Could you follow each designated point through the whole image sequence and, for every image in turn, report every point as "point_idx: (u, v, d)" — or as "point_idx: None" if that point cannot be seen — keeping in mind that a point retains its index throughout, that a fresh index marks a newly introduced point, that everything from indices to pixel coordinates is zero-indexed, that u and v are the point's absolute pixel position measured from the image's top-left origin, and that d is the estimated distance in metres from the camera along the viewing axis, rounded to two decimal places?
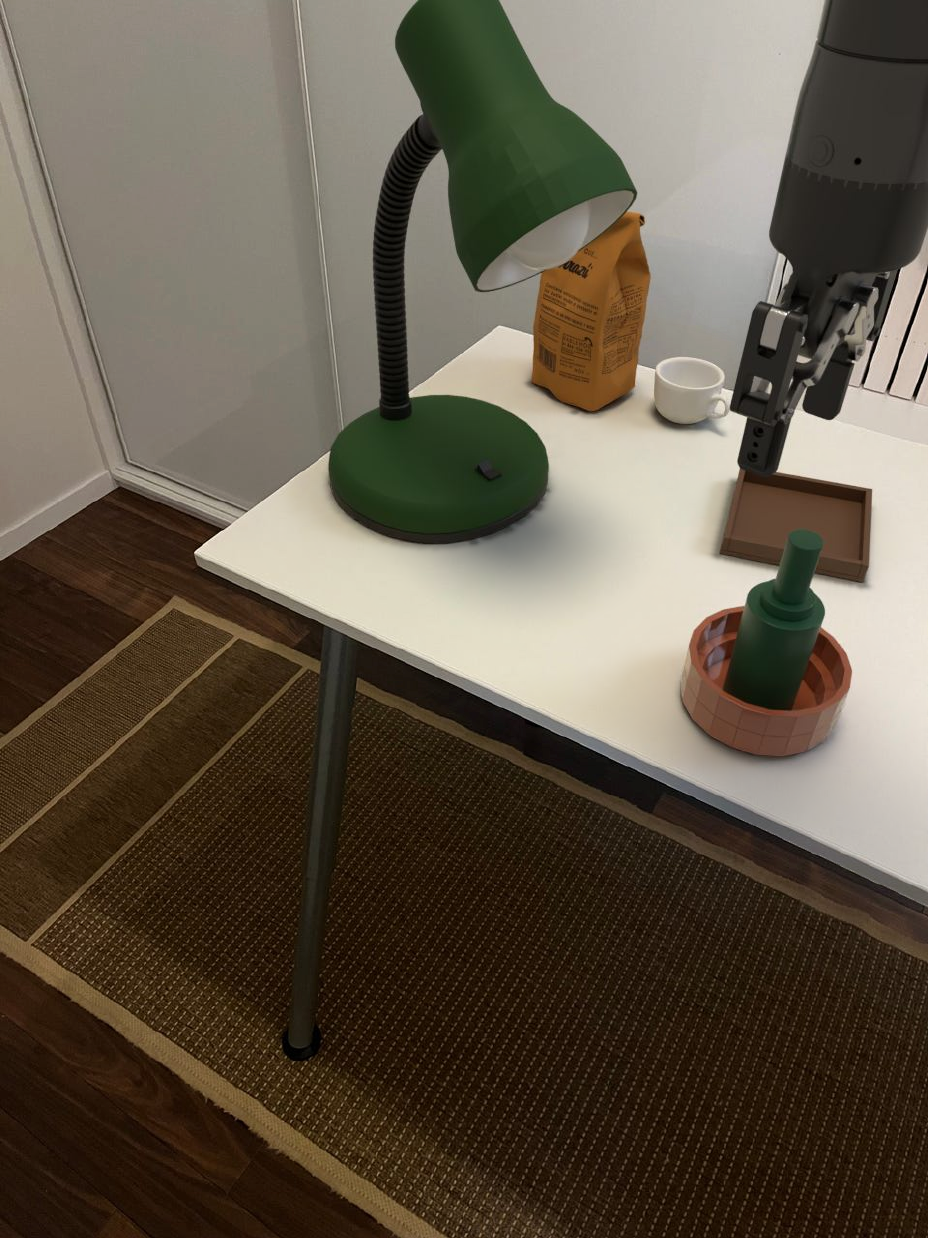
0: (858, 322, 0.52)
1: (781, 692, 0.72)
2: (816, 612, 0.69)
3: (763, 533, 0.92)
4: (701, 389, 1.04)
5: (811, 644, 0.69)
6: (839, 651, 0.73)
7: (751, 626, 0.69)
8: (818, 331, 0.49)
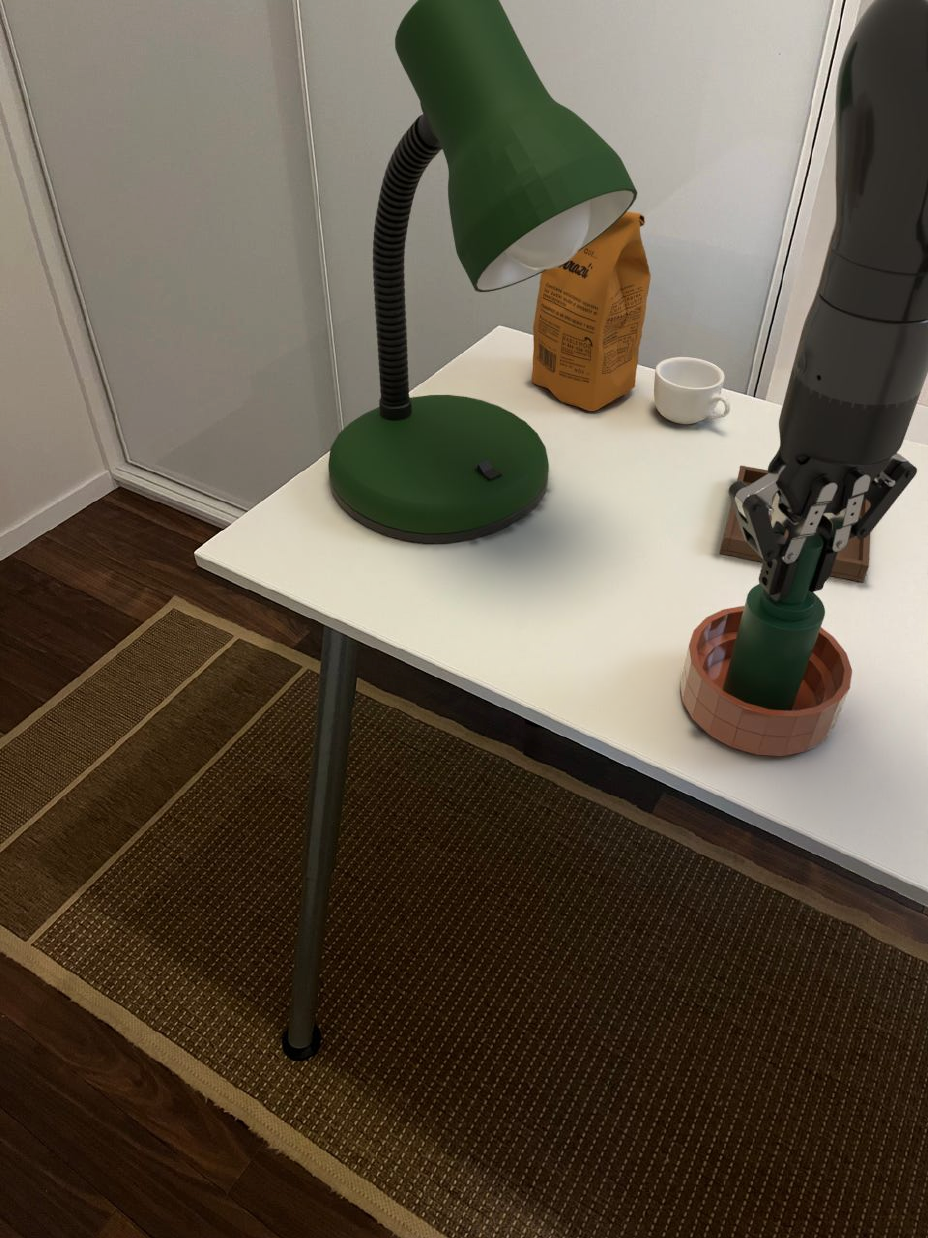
0: (844, 501, 0.62)
1: (781, 692, 0.71)
2: (816, 612, 0.69)
3: None
4: (701, 389, 1.04)
5: (811, 644, 0.69)
6: (839, 651, 0.73)
7: (751, 626, 0.69)
8: (793, 496, 0.60)
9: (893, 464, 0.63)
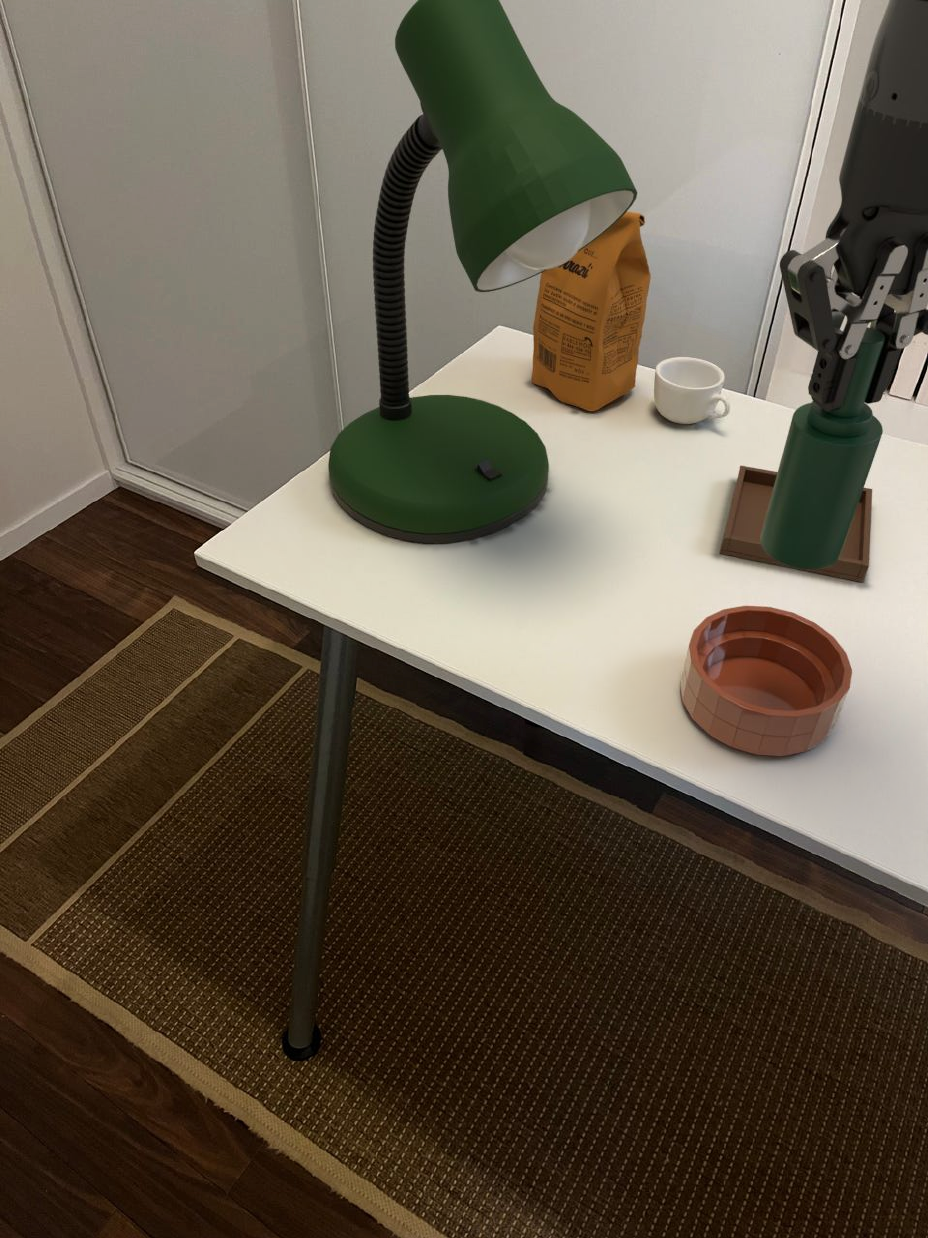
0: (913, 277, 0.53)
1: (831, 528, 0.63)
2: (872, 429, 0.60)
3: None
4: (701, 389, 1.04)
5: (866, 467, 0.60)
6: (839, 651, 0.73)
7: (798, 447, 0.61)
8: (856, 264, 0.52)
9: None
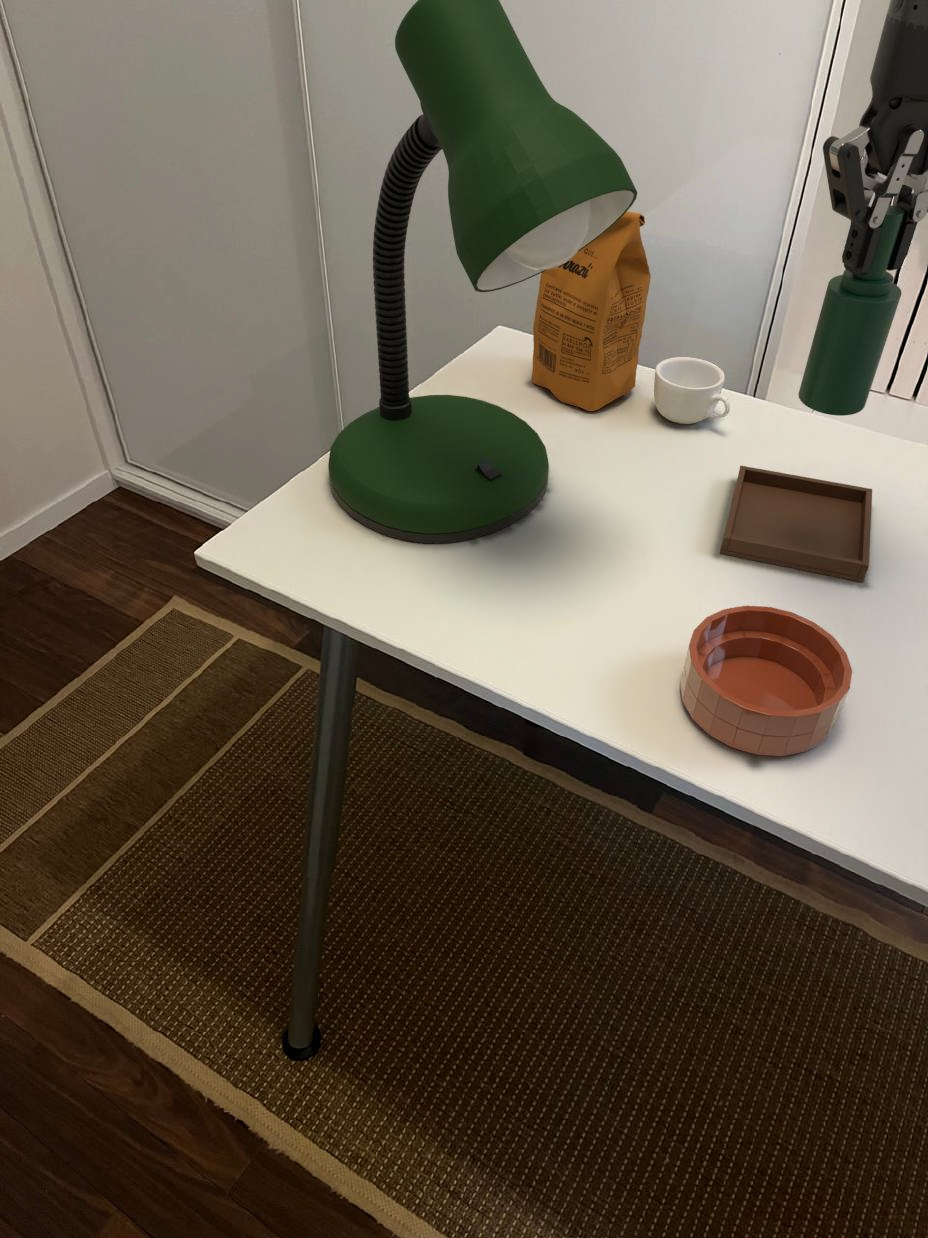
0: None
1: (858, 378, 0.77)
2: (893, 291, 0.74)
3: (763, 533, 0.92)
4: (701, 389, 1.04)
5: (888, 323, 0.75)
6: (839, 651, 0.73)
7: (832, 307, 0.75)
8: (883, 146, 0.66)
9: None
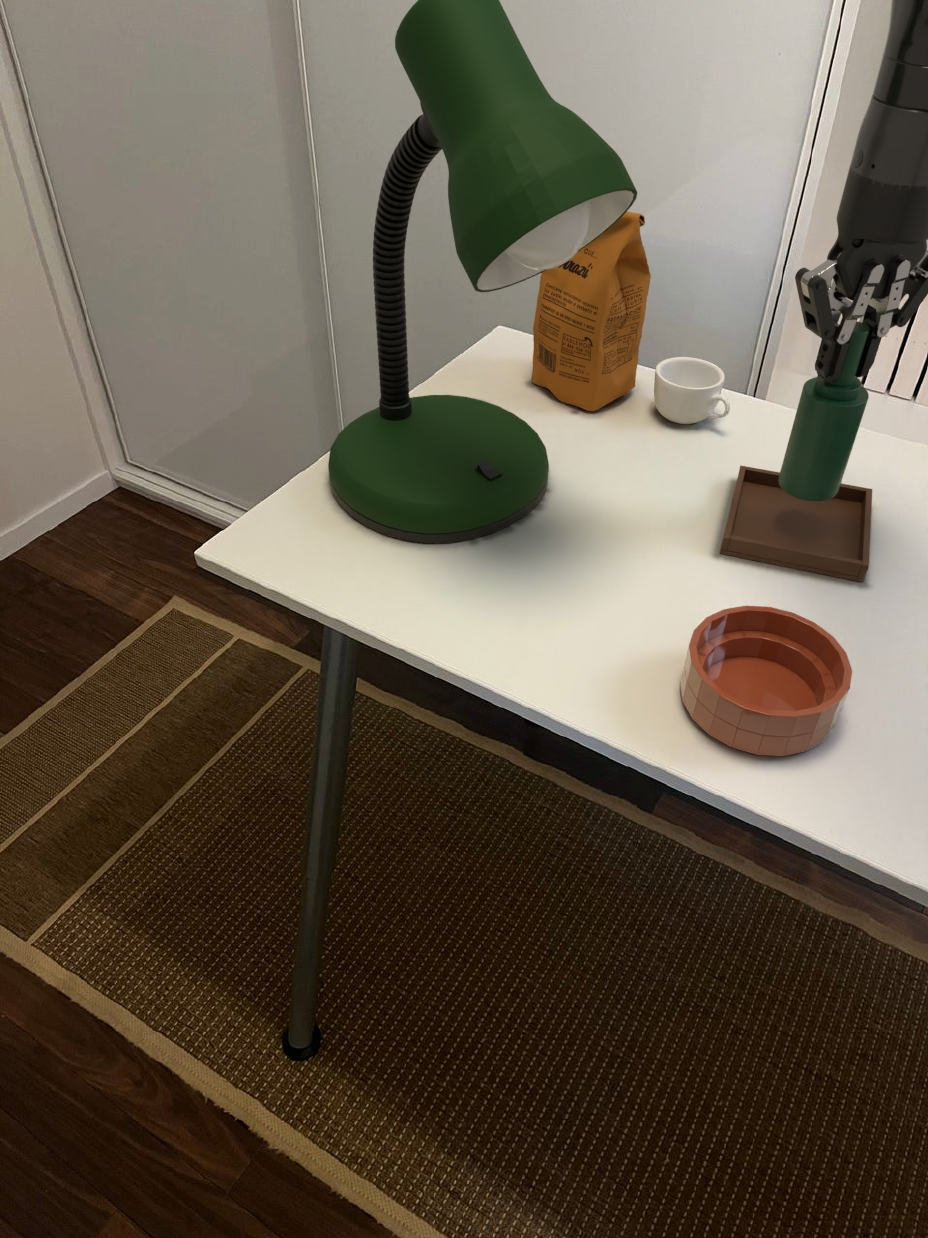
0: (889, 286, 0.76)
1: (831, 469, 0.86)
2: (861, 395, 0.83)
3: (763, 533, 0.92)
4: (701, 389, 1.04)
5: (857, 423, 0.83)
6: (839, 651, 0.73)
7: (807, 409, 0.83)
8: (848, 277, 0.75)
9: (927, 258, 0.77)
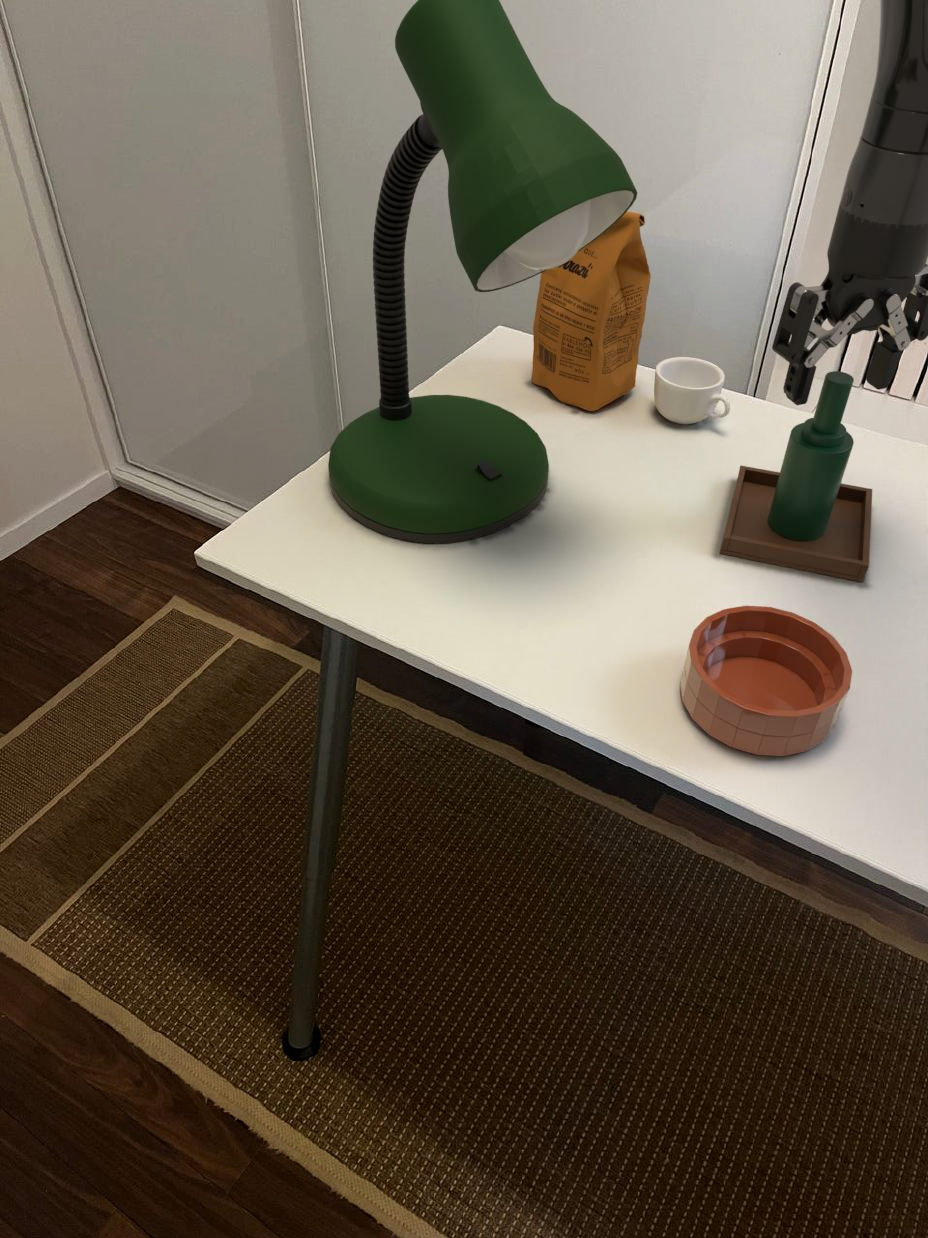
0: (887, 317, 0.78)
1: (818, 511, 0.89)
2: (846, 441, 0.86)
3: (763, 533, 0.92)
4: (701, 389, 1.04)
5: (842, 468, 0.86)
6: (839, 651, 0.73)
7: (794, 454, 0.87)
8: (838, 311, 0.76)
9: (922, 278, 0.78)
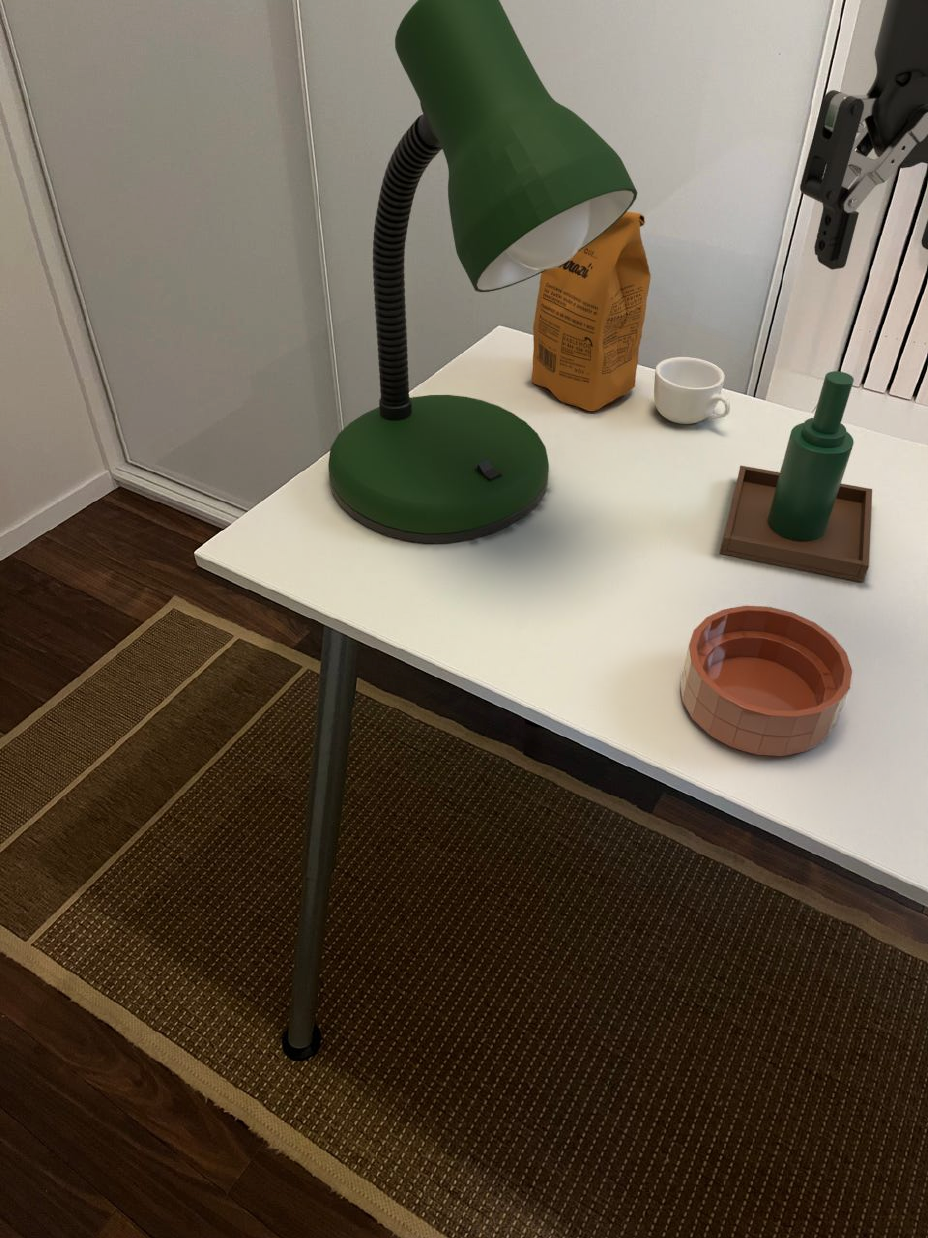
0: None
1: (818, 511, 0.89)
2: (846, 441, 0.86)
3: (763, 533, 0.92)
4: (701, 389, 1.04)
5: (842, 468, 0.86)
6: (839, 651, 0.73)
7: (794, 454, 0.87)
8: (890, 130, 0.57)
9: None
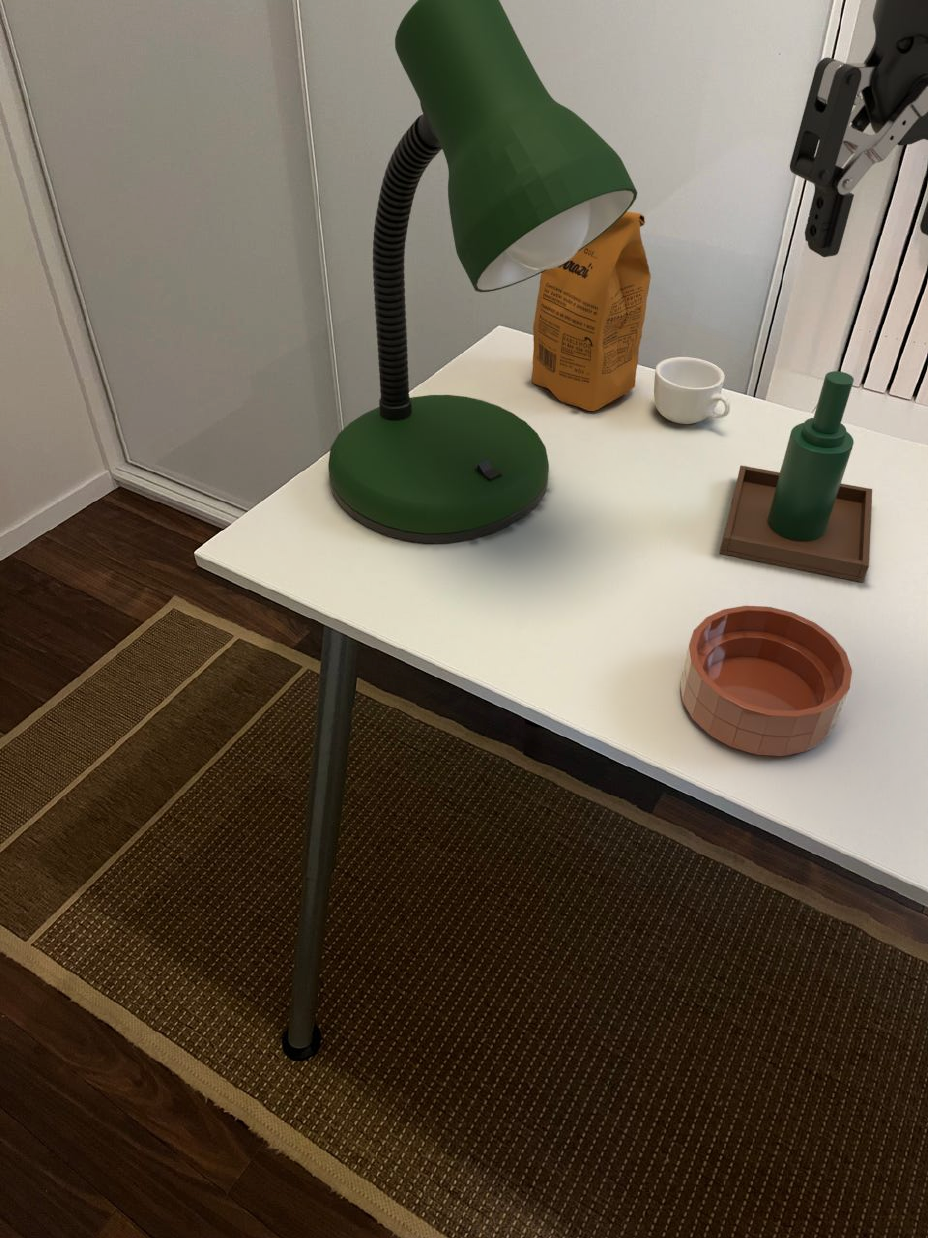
0: None
1: (818, 511, 0.89)
2: (846, 441, 0.86)
3: (763, 533, 0.92)
4: (701, 389, 1.04)
5: (842, 468, 0.86)
6: (839, 651, 0.73)
7: (794, 454, 0.87)
8: (889, 102, 0.52)
9: None
